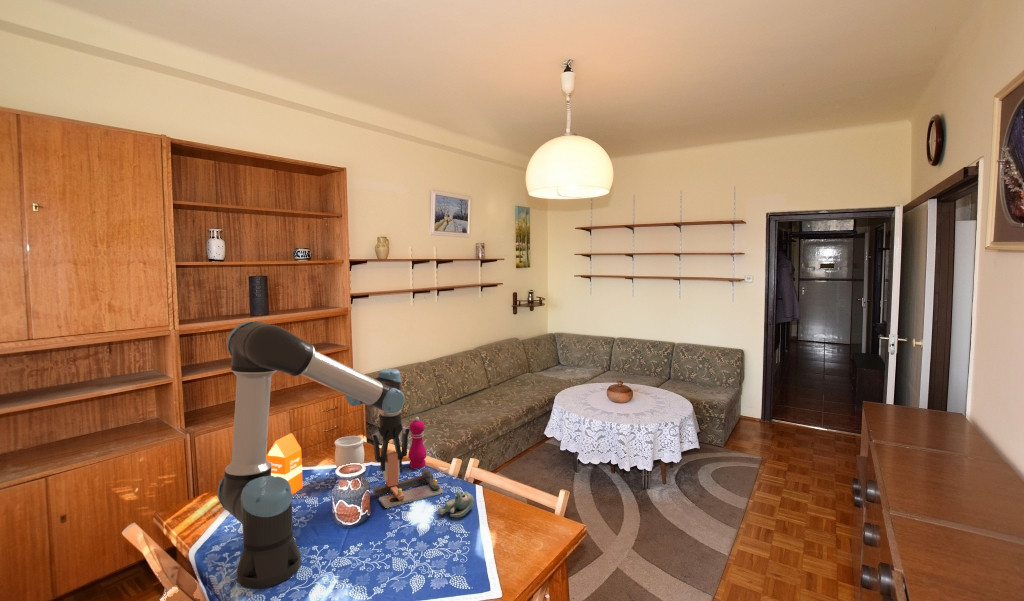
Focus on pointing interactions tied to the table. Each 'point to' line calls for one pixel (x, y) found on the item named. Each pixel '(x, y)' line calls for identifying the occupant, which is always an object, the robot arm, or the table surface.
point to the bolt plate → (410, 496)
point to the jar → (349, 450)
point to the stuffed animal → (458, 504)
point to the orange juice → (287, 461)
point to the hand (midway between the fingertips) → (391, 477)
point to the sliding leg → (393, 474)
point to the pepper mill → (417, 445)
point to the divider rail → (409, 483)
